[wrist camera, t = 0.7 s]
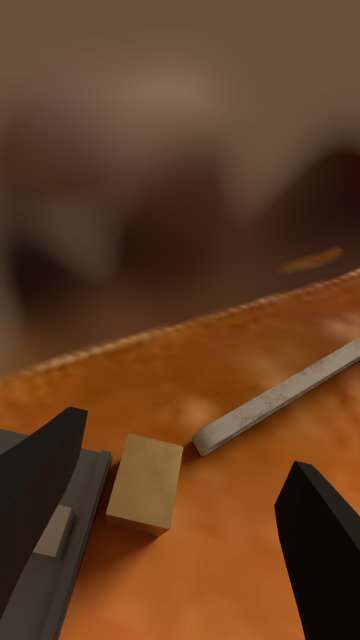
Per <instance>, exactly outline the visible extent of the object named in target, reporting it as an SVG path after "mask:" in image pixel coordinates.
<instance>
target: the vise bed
mask: <svg viewBox="0 0 360 640" xmlns="http://www.w3.org/2000/svg"><path fill="white" fill-rule="evenodd" d="M27 437H28V436H27V435H23V434H19V433H15V432H11V431H7V430H2V429H0V455H1V454H2V453H4V452H6V451H7V450H9V449H10V448H12V447H14V446H15V445H17V444H18V443H20V442H21V441H23V440H24V439H26V438H27ZM111 462H112V456H111V452H107V451H103V450H102V451H101V453H98V452H94V451H90V450H86V449H81V450H80V456H79V460H78V463H77V465H76V468H75V470H74V473H73V475H72V477H71V480H70V482H69V485H68V487H67V489H66V491H65V493H64V495H63V497H62V499H61V501H60V502H59V504H58V505H61V506H65V507H70V508H72V509H73V511H74V513H75V514H76V518H75V521H74V524H73V527H72V530H71V533H70V536H69V539H68V542H67V545H66V548H65V551H64V554H63V557H62V559H61V558H56V557H52V556H48V555H43V554H39V553H35V552H32V554H31V556H30V558H29V560H28V562H27V564H26V566H25V568H24V570H23V572H22V574H21V576H20V578H19V580H18V582H17V584H16V586H15V589H14V591H13V593H12V595H11V598H10V600H9V602H8V604H7V607H6V609H5V611H4V613H3V616H2V618H1V620H0V640H58V639H59V635H60V632H61V629H62V625H63V622H64V619H65V615H66V612H67V609H68V605H69V602H70V599H71V595H72V592H73V589H74V585H75V582H76V579H77V575H78V572H79V569H80V565H81V562H82V559H83V555H84V552H85V549H86V545H87V542H88V539H89V535H90V532H91V529H92V525H93V522H94V519H95V516H96V512H97V509H98V506H99V502H100V499H101V496H102V492H103V489H104V486H105V482H106V479H107V476H108V472H109V469H110V466H111Z"/></svg>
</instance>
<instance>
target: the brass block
mask: <svg viewBox="0 0 360 640" xmlns="http://www.w3.org/2000/svg"><path fill="white" fill-rule="evenodd" d="M182 453H183V446H179V445H175V444H171V443H167V442H163V441H159V440H155V439H150V438H146V437H142V436H138V435H134V434H130V433H129V434H128V437H127V441H126V444H125V448H124V451H123V455H122V458H121V462H120V465H119V469H118V472H117V476H116V479H115V483H114V486H113V490H112V494H111V497H110V501H109V504H108V508H107V511H106V524H107V525H108V526H113V527H117V528H121V529H125V530H130V531H134V532H138V533H142V534H147V535H151V536H155V537H159V536H161V535H162V534H164V533H165V532H166V531H168V530H169V529H170V525H171V519H172V513H173V507H174V501H175V495H176V489H177V483H178V477H179V471H180V465H181V459H182Z"/></svg>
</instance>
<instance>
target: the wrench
mask: <svg viewBox="0 0 360 640" xmlns="http://www.w3.org/2000/svg"><path fill="white" fill-rule="evenodd" d="M358 361H360V336H359V337H358V338H356V339H355V340H353V341H352V342H350V343H349V344H347V345H345V346H343V347H342V348H340V349H338V350H336V351H335V352H333V353H331V354H330V355H328V356H326V357H324V358H323V359H321V360H319V361H318V362H316V363H314V364H312V365H311V366H309V367H307V368H305V369H304V370H302V371H300V372H299V373H297V374H295V375H293V376H292V377H290V378H288V379H287V380H285V381H283V382H281V383H280V384H278V385H276V386H274V387H273V388H271V389H269V390H268V391H266V392H264V393H262V394H261V395H259V396H257V397H256V398H254V399H252V400H250V401H249V402H247V403H245V404H243V405H242V406H240V407H238V408H237V409H235V410H233V411H231V412H230V413H228V414H226V415H225V416H223V417H221V418H219V419H218V420H216V421H214V422H212V423H211V424H209V425H207V426H206V427H204V428H203V429H201V430H200V431H198V432H197V433H196V434H195V435H194V436H193V437H192V441H193V443H194V444H195V446H196V448H197V450H198V452H199V453H200V455H201V456H204V455H206V454H208V453H209V452H211V451H213V450H214V449H216V448H218V447H220V446H221V445H223V444H224V443H226V442H228V441H229V440H231V439H233V438H234V437H236V436H237V435H239V434H241V433H242V432H244V431H245V430H247V429H249V428H250V427H252V426H253V425H255V424H257V423H258V422H260V421H261V420H263V419H265V418H266V417H268V416H269V415H271V414H273V413H274V412H276V411H278V410H279V409H281V408H282V407H284V406H286V405H287V404H289V403H290V402H292V401H294V400H295V399H297V398H299V397H300V396H302V395H303V394H305V393H307V392H308V391H310V390H311V389H313V388H315V387H316V386H318V385H319V384H321V383H323V382H324V381H326V380H328V379H329V378H331V377H332V376H334V375H336V374H337V373H339V372H340V371H342V370H344V369H345V368H347V367H349V366H350V365H352V364H354V363H356V362H358Z"/></svg>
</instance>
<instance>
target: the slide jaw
mask: <svg viewBox="0 0 360 640" xmlns="http://www.w3.org/2000/svg"><path fill="white" fill-rule="evenodd" d="M75 518H76V514H75V513H74V511H73V509H72V508H70V507H65V506H61V505H58V506H57V508H56V510H55V512H54V514H53V515H52V517H51V519H50V521H49V523H48V525H47V527H46V528H45V530H44V532H43V534H42V536H41V538H40V539H39V541H38V543H37V545H36V547H35V549H34V551H33V552H35V553H39V554H43V555H48V556H52V557H56V558H61V559H62V557H63V554H64V551H65V548H66V545H67V542H68V539H69V536H70V533H71V530H72V527H73V524H74V521H75Z"/></svg>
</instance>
